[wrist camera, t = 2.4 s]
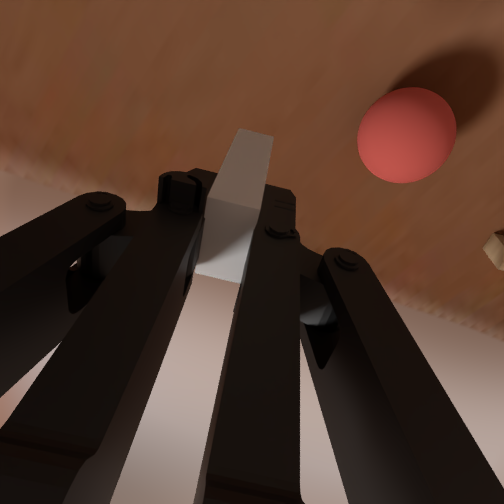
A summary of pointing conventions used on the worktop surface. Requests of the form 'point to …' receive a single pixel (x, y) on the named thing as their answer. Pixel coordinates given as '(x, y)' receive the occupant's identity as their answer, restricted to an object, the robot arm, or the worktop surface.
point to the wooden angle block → (496, 250)
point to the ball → (406, 135)
